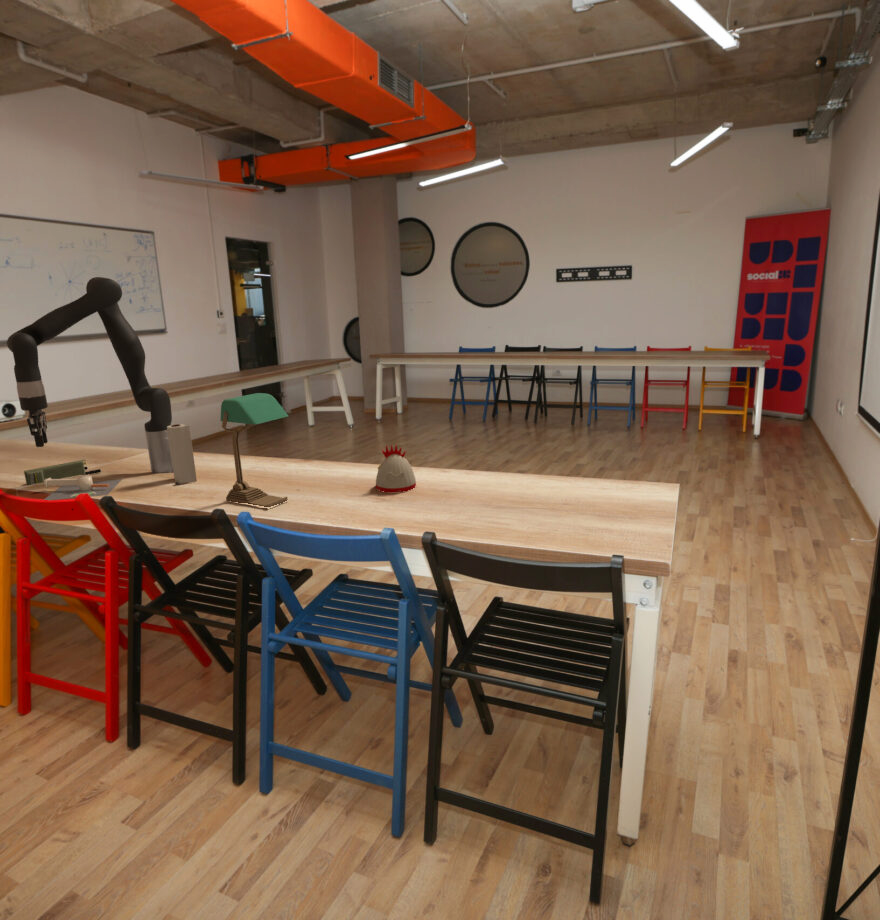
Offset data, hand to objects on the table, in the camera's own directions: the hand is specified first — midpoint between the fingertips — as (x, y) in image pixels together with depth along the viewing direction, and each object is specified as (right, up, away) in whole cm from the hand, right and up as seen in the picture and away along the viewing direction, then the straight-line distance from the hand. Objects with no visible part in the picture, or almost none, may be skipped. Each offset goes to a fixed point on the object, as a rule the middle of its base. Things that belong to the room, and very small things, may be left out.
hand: (42, 444), depth 207 cm
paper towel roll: (+39, -13, +21) cm, 46 cm away
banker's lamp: (+74, -19, -4) cm, 77 cm away
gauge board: (+8, -17, +12) cm, 22 cm away
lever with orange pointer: (+6, -15, +11) cm, 20 cm away
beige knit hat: (+118, -15, +7) cm, 120 cm away
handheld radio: (-9, -13, +29) cm, 33 cm away
